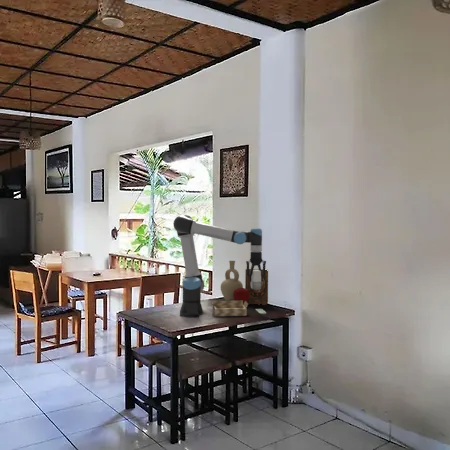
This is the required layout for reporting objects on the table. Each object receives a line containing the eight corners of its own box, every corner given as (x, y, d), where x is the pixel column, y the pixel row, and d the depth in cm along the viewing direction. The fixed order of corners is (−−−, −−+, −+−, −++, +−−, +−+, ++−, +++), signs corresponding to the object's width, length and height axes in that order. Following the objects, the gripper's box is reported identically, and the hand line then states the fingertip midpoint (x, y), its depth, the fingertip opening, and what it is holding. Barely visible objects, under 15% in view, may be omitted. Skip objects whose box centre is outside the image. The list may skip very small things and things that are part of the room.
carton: (212, 317, 306) (213, 304, 306) (210, 313, 319) (210, 300, 319) (248, 316, 310) (248, 304, 310) (244, 312, 323) (244, 300, 322)
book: (244, 304, 350) (245, 269, 350) (245, 302, 356) (245, 268, 355) (267, 305, 349) (268, 270, 348) (267, 303, 354) (268, 269, 354)
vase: (247, 301, 361) (247, 261, 360) (229, 304, 351) (229, 262, 350) (233, 298, 374) (234, 259, 373) (215, 300, 364) (216, 260, 363)
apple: (250, 307, 341) (251, 288, 341) (234, 307, 340) (234, 288, 339) (247, 303, 353) (247, 285, 353) (231, 303, 352) (232, 285, 351)
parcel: (253, 289, 320) (253, 271, 320) (250, 287, 327) (251, 269, 327) (260, 289, 321) (260, 271, 321) (258, 287, 328) (258, 269, 328)
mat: (248, 314, 318) (248, 313, 318) (244, 310, 330) (244, 309, 330) (266, 313, 320) (266, 312, 320) (261, 310, 332) (262, 308, 332)
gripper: (243, 252, 318) (243, 287, 319) (270, 252, 321) (270, 287, 322) (241, 251, 326) (241, 285, 326) (268, 251, 328) (267, 285, 329)
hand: (255, 286), depth 324 cm, fingers closed on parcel, 5 cm apart
